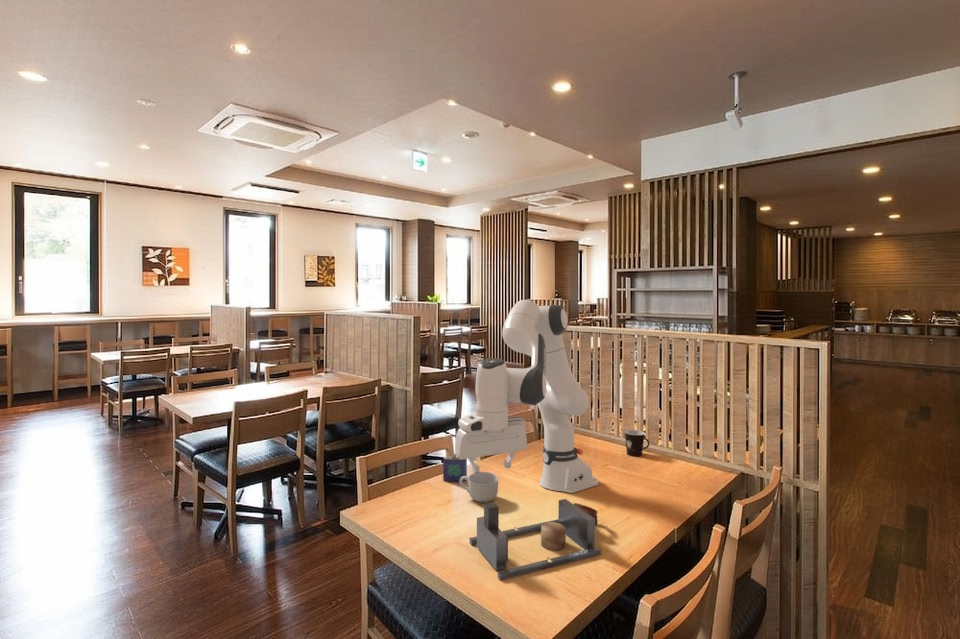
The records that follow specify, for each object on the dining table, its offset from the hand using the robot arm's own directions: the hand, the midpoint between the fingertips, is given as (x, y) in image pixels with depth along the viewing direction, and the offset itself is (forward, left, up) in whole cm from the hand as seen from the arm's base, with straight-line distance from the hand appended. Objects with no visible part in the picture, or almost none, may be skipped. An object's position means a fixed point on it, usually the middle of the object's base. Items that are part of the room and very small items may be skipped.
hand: (491, 469), depth 135 cm
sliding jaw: (0, 0, -25) cm, 25 cm away
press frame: (-14, 0, -25) cm, 28 cm away
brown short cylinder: (-20, 0, -25) cm, 32 cm away
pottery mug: (-34, -5, -25) cm, 42 cm away
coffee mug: (-96, -53, -25) cm, 112 cm away
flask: (-11, -57, -25) cm, 63 cm away
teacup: (-13, -38, -25) cm, 47 cm away
